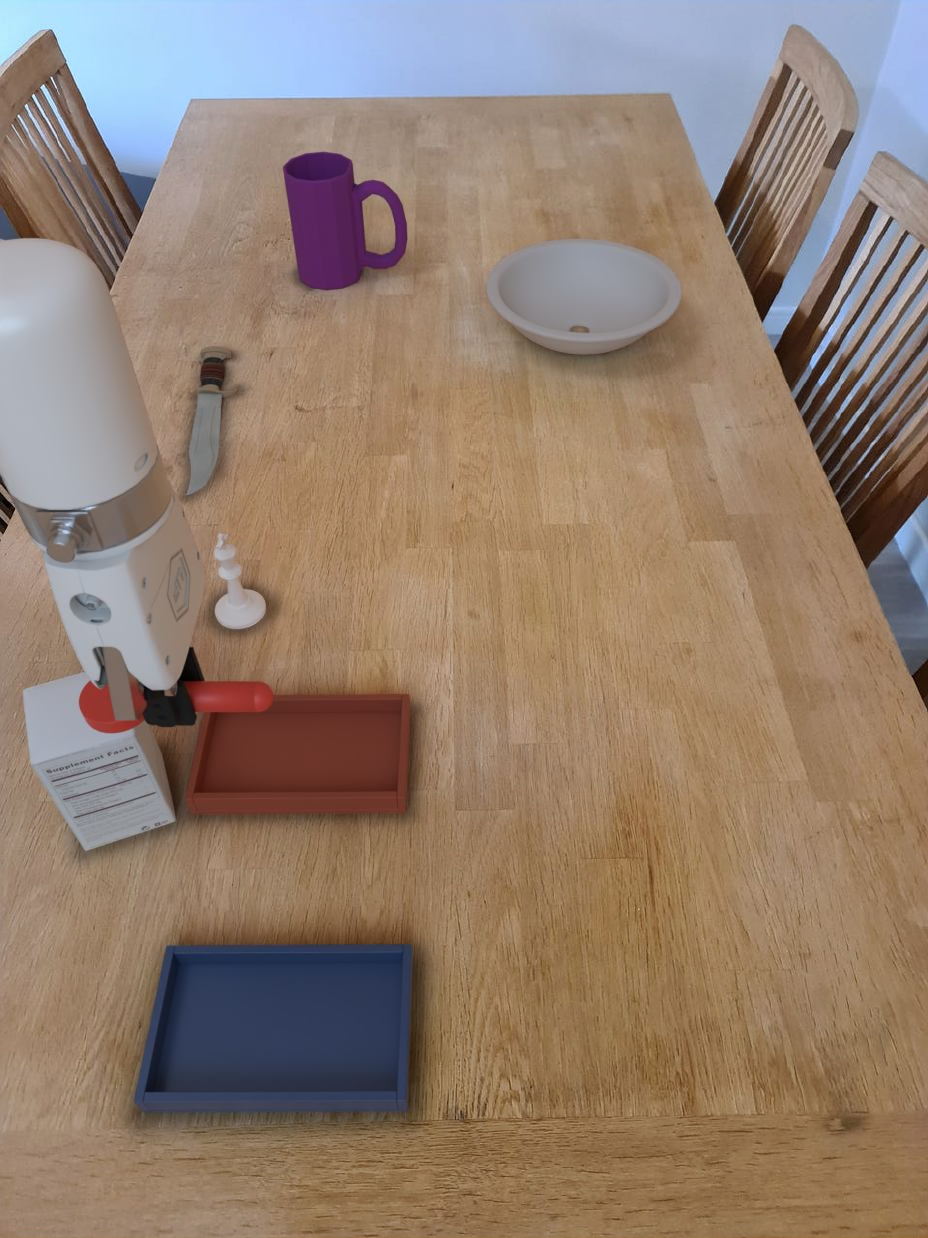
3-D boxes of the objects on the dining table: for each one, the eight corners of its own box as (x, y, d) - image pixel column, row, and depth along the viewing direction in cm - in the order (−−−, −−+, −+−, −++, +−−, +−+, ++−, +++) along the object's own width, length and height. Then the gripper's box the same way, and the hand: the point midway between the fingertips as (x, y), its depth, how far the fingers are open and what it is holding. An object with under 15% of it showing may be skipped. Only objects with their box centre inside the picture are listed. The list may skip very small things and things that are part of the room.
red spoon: (280, 678, 65) (276, 659, 64) (270, 735, 62) (265, 716, 61) (94, 677, 65) (85, 658, 64) (75, 733, 62) (65, 715, 61)
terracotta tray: (191, 816, 78) (184, 799, 76) (213, 713, 85) (207, 695, 83) (406, 814, 78) (404, 797, 76) (410, 711, 84) (409, 693, 83)
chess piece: (206, 626, 91) (182, 550, 84) (227, 589, 95) (205, 512, 87) (255, 635, 91) (235, 559, 83) (275, 598, 94) (257, 521, 86)
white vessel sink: (462, 369, 119) (461, 321, 114) (513, 273, 134) (514, 227, 130) (656, 401, 114) (664, 352, 109) (687, 298, 129) (695, 251, 125)
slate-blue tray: (143, 1114, 63) (133, 1102, 61) (175, 960, 70) (166, 945, 68) (408, 1113, 63) (406, 1101, 61) (413, 959, 70) (411, 943, 68)
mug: (303, 258, 138) (288, 150, 127) (412, 259, 137) (406, 151, 126) (293, 292, 132) (276, 181, 121) (407, 293, 131) (400, 182, 120)
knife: (221, 492, 103) (173, 489, 103) (222, 503, 104) (174, 500, 104) (242, 346, 121) (201, 343, 120) (243, 357, 122) (202, 354, 121)
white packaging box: (73, 780, 80) (19, 685, 71) (163, 753, 82) (122, 657, 72) (83, 855, 76) (26, 765, 66) (178, 825, 77) (137, 733, 68)
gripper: (126, 603, 45) (210, 811, 58) (196, 398, 55) (254, 615, 69) (-35, 602, 45) (87, 810, 59) (66, 398, 55) (149, 615, 69)
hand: (176, 703), depth 64 cm, fingers closed on red spoon, 2 cm apart
